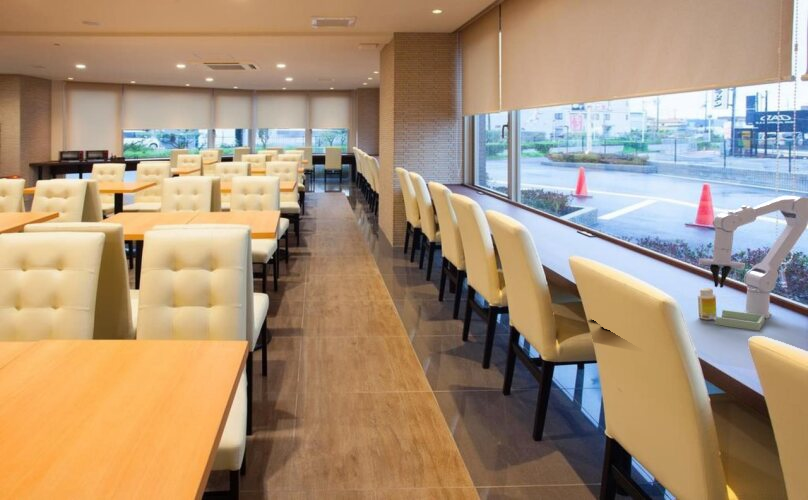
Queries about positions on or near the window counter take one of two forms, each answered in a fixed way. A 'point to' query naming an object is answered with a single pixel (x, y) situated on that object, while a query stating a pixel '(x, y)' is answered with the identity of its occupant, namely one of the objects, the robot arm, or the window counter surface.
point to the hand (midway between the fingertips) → (718, 286)
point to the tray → (740, 323)
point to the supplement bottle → (707, 304)
